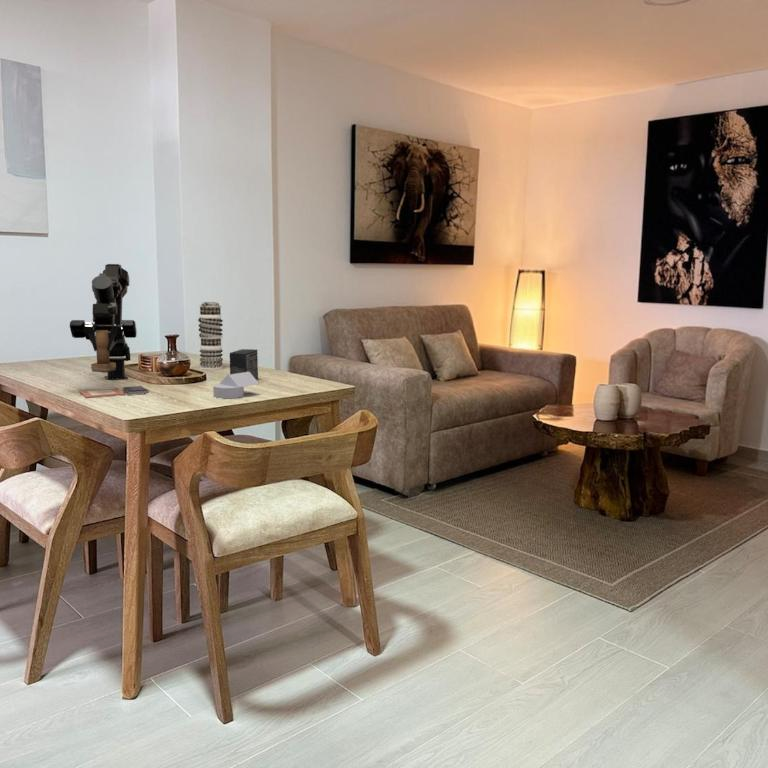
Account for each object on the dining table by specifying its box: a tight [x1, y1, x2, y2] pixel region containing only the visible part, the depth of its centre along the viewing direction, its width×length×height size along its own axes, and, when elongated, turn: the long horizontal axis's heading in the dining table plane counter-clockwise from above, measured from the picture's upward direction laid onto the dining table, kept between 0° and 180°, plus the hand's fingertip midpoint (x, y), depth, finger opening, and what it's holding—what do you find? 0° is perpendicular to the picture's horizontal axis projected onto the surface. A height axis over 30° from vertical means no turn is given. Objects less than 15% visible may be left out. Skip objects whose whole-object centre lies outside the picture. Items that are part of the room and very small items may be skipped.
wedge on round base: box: [213, 372, 260, 400], centre depth 223 cm, size 9×7×13 cm
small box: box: [229, 348, 259, 380], centre depth 250 cm, size 11×6×10 cm, turn 168°
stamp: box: [90, 330, 116, 374], centre depth 220 cm, size 5×5×12 cm
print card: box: [78, 387, 126, 399], centre depth 222 cm, size 11×11×1 cm
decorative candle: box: [197, 301, 224, 371], centre depth 276 cm, size 9×9×25 cm
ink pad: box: [122, 385, 150, 396], centre depth 225 cm, size 8×6×1 cm
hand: (101, 350), depth 219 cm, fingers closed on stamp, 4 cm apart
